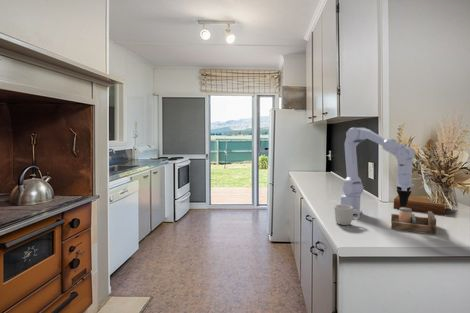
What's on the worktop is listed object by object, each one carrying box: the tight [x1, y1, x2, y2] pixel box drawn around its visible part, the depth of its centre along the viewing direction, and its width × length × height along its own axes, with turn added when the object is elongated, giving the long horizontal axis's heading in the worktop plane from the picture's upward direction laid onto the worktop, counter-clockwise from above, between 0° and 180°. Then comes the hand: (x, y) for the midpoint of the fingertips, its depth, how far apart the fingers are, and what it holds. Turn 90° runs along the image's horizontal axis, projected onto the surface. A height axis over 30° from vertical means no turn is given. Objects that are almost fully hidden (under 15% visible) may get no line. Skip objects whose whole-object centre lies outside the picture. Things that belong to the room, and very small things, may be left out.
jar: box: [398, 207, 413, 223], centre depth 133 cm, size 5×5×8 cm
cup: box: [334, 204, 361, 226], centre depth 136 cm, size 11×8×8 cm
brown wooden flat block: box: [393, 194, 446, 216], centre depth 164 cm, size 23×19×6 cm
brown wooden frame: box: [390, 211, 437, 235], centre depth 132 cm, size 16×15×6 cm
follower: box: [412, 213, 416, 224], centre depth 131 cm, size 1×11×4 cm, turn 153°
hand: (403, 204), depth 134 cm, fingers open, 7 cm apart
